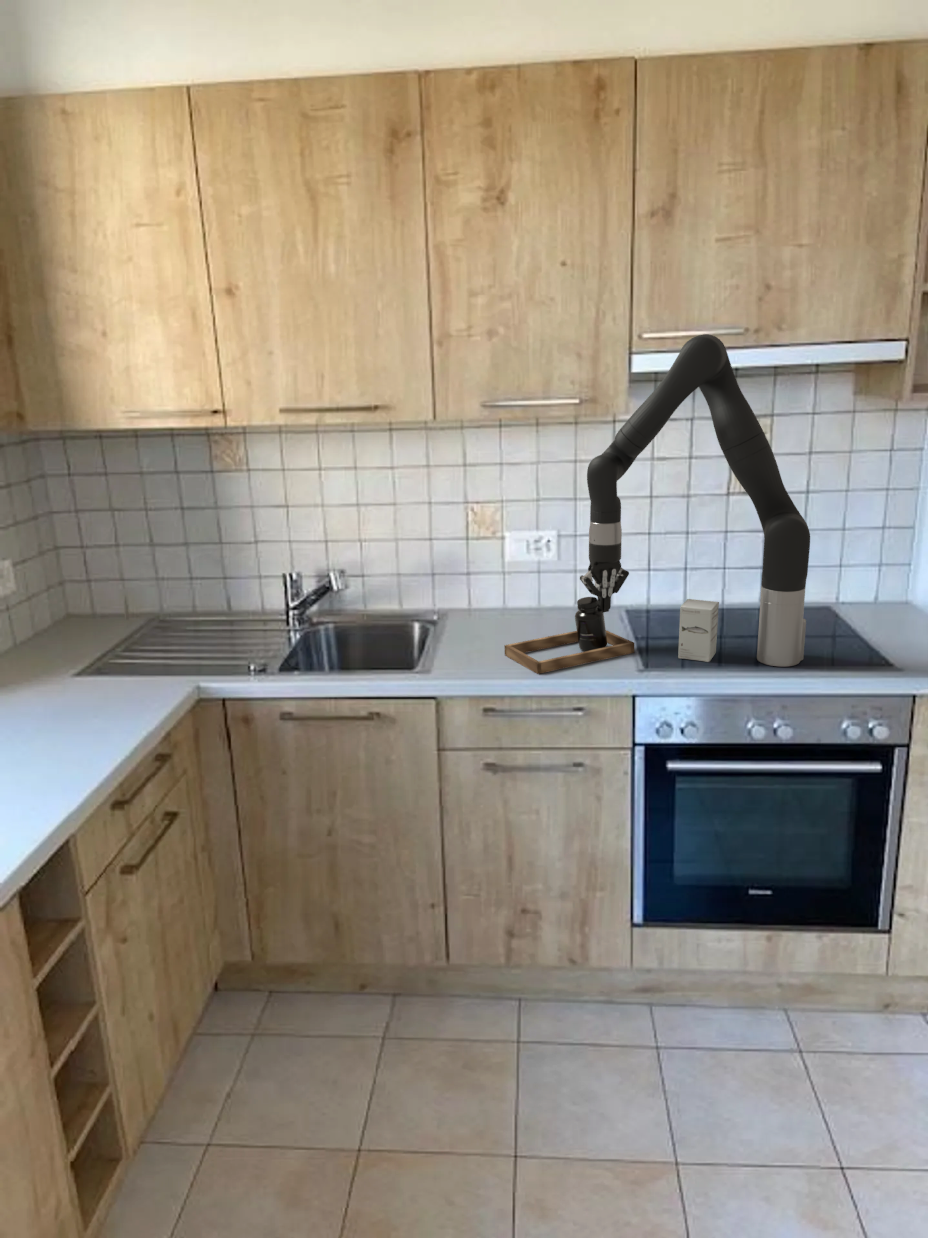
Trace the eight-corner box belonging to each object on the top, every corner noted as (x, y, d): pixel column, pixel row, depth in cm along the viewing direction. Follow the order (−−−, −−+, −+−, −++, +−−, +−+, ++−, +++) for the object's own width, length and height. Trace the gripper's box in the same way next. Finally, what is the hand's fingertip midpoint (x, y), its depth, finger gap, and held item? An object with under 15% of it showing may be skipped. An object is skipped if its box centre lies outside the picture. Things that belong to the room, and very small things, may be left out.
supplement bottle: (584, 655, 212) (576, 607, 208) (575, 645, 218) (568, 599, 214) (612, 648, 212) (605, 600, 208) (602, 638, 219) (596, 592, 215)
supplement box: (677, 659, 206) (678, 606, 203) (685, 649, 213) (687, 597, 209) (709, 663, 203) (711, 609, 199) (717, 653, 209) (719, 600, 206)
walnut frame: (597, 636, 224) (597, 626, 224) (634, 652, 212) (634, 642, 211) (504, 655, 213) (504, 645, 213) (537, 674, 200) (537, 663, 200)
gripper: (590, 546, 204) (589, 619, 209) (638, 539, 209) (636, 610, 214) (572, 540, 210) (572, 611, 215) (619, 533, 215) (617, 603, 221)
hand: (604, 611), depth 215 cm, fingers closed
